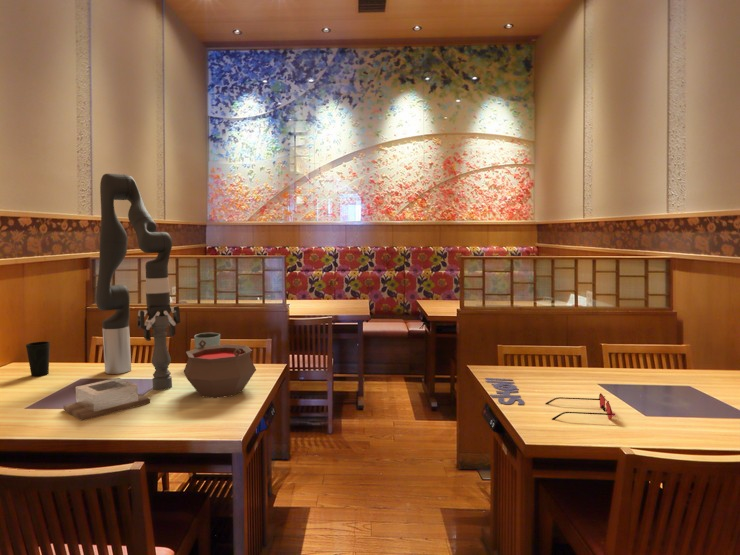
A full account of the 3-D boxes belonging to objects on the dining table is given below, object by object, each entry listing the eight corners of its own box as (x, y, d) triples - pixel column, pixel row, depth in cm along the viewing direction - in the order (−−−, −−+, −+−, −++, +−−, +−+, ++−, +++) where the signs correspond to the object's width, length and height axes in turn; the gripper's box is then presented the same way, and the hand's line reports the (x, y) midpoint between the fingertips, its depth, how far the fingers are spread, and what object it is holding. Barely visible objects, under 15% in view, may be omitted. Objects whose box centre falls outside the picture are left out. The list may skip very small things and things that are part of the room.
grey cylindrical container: (213, 360, 223) (212, 331, 222) (226, 364, 216) (225, 334, 215) (190, 364, 216) (189, 335, 215) (202, 368, 209) (201, 338, 208)
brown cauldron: (169, 392, 179) (167, 344, 177) (231, 377, 196) (230, 333, 195) (207, 408, 163) (205, 355, 161) (271, 390, 180) (270, 342, 179)
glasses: (615, 424, 146) (615, 406, 145) (551, 421, 149) (552, 403, 148) (602, 407, 159) (603, 391, 159) (544, 404, 162) (545, 388, 162)
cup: (55, 373, 205) (53, 342, 204) (34, 378, 199) (32, 346, 197) (45, 371, 209) (43, 340, 208) (24, 375, 203) (21, 344, 202)
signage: (526, 404, 161) (492, 403, 162) (526, 406, 161) (492, 405, 162) (513, 378, 189) (484, 377, 190) (513, 380, 189) (484, 379, 190)
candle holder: (175, 384, 188) (171, 314, 185) (166, 390, 181) (163, 316, 179) (158, 384, 188) (154, 314, 186) (149, 389, 182) (145, 316, 180)
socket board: (63, 410, 162) (63, 405, 162) (129, 394, 177) (129, 390, 177) (82, 420, 153) (82, 415, 153) (150, 402, 168) (149, 398, 168)
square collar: (76, 402, 164) (75, 386, 164) (119, 392, 174) (118, 377, 174) (94, 411, 156) (93, 395, 155) (138, 400, 166) (137, 384, 165)
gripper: (171, 288, 190) (173, 334, 191) (131, 292, 179) (134, 340, 180) (183, 289, 185) (185, 336, 186) (142, 293, 174) (145, 343, 176)
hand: (160, 338), depth 183 cm, fingers open, 8 cm apart
